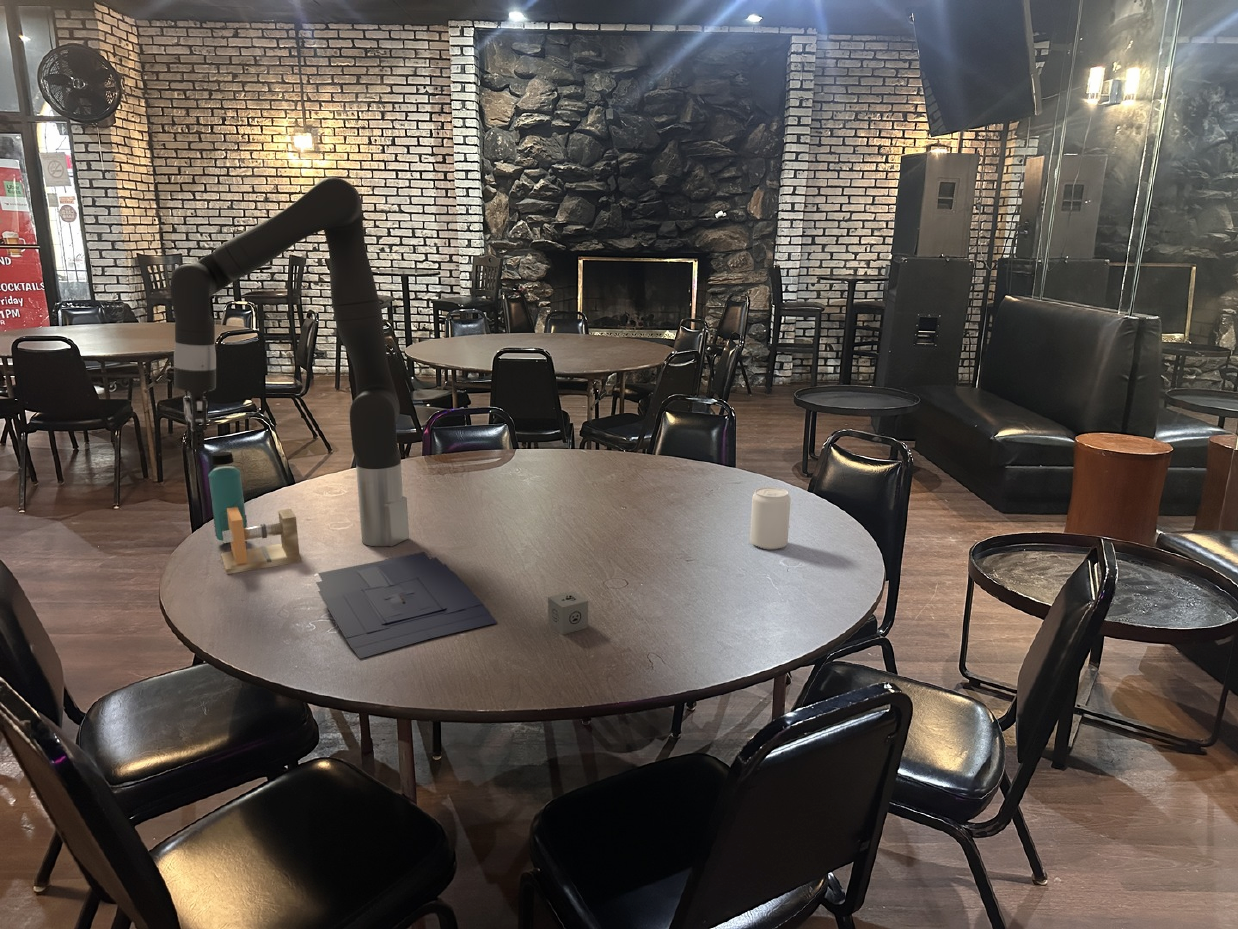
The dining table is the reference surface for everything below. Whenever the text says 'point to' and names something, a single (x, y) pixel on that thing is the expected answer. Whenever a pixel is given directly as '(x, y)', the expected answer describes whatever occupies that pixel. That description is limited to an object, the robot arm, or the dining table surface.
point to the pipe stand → (266, 554)
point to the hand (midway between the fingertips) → (195, 444)
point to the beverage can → (770, 518)
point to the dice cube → (568, 612)
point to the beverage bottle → (225, 492)
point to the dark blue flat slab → (399, 603)
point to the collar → (237, 535)
